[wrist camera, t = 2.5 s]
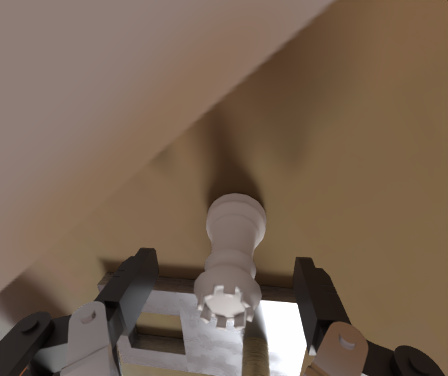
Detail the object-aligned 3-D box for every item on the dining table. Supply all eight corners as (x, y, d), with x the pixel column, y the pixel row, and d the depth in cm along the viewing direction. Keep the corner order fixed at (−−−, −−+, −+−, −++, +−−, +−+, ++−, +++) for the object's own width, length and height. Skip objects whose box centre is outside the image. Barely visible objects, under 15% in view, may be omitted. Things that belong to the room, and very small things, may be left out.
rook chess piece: (198, 202, 17) (156, 287, 9) (252, 181, 15) (253, 261, 8) (223, 246, 18) (203, 350, 11) (274, 230, 17) (291, 336, 9)
